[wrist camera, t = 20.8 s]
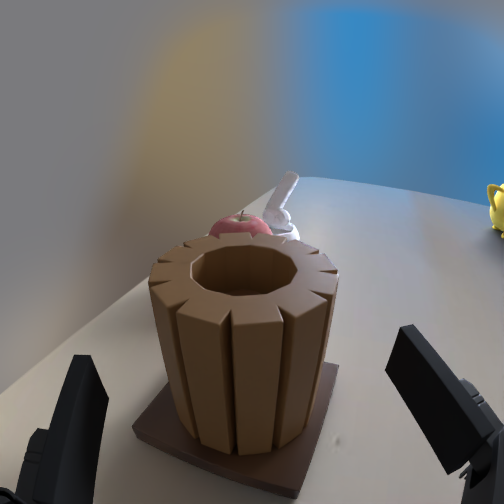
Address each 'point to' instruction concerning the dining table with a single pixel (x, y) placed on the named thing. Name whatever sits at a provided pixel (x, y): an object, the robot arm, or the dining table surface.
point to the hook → (274, 211)
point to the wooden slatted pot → (243, 336)
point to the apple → (240, 225)
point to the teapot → (497, 206)
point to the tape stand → (234, 466)
